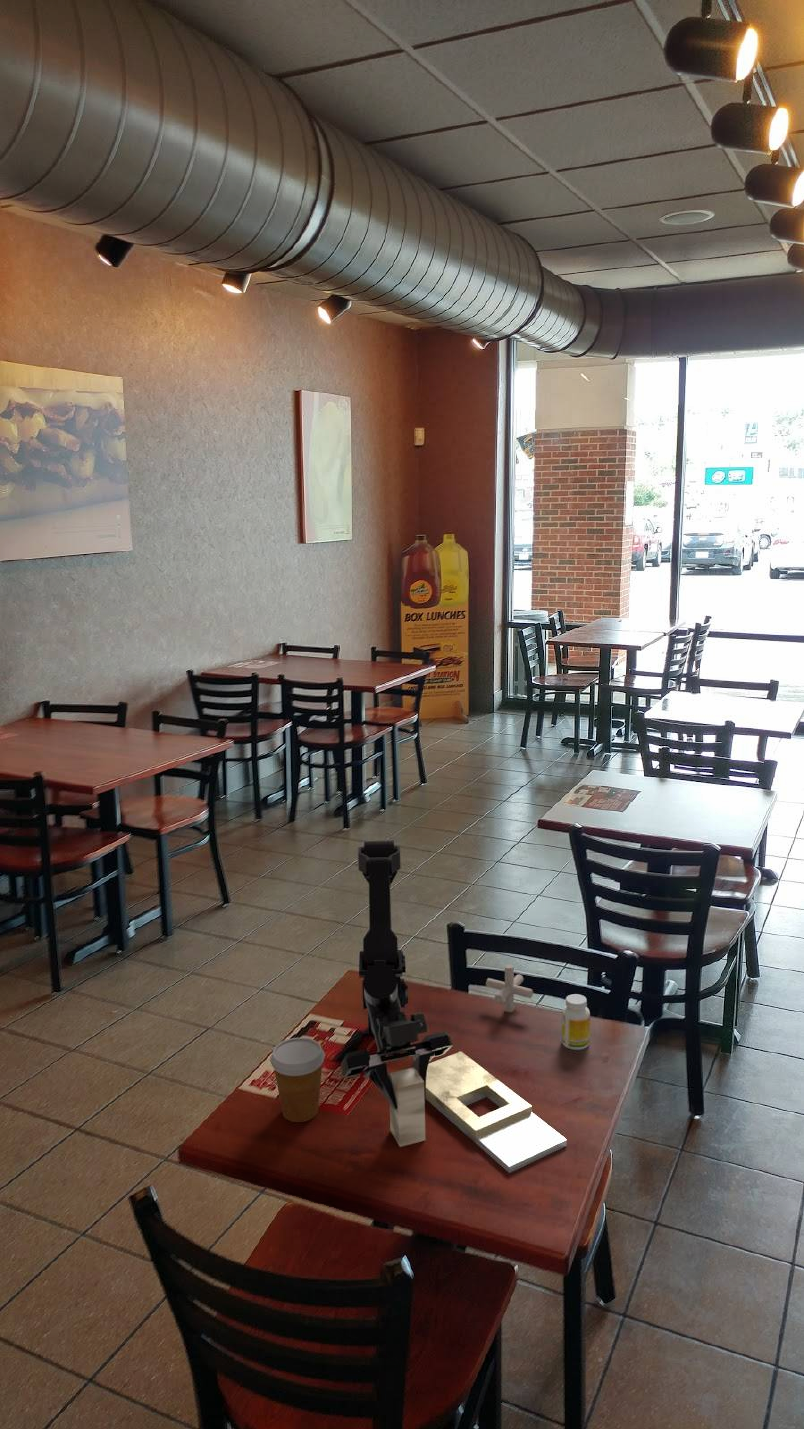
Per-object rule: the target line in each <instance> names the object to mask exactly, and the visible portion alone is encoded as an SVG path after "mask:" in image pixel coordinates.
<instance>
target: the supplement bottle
mask: <svg viewBox="0 0 804 1429" xmlns="http://www.w3.org/2000/svg"><path fill="white" fill-rule="evenodd" d="M587 1006H588V1001H587V998H586V996H584V995H582V994H578V993H574V994H569V995H567V996H566V997H565V1005H564V1006H563V1008H562V1011H561V1043H562V1045H563V1046H564V1047H565V1048H567V1049H570V1050H576V1051H581V1050H584V1049H586V1048H587V1047H588V1046H589V1044H590V1030H591V1029H590V1025H591V1024H590V1023H591V1012H590V1009H589V1008H588V1007H587Z"/></svg>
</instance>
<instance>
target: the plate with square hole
mask: <svg viewBox="0 0 804 1429" xmlns="http://www.w3.org/2000/svg"><path fill="white" fill-rule="evenodd" d="M485 1098H487V1099H489V1100H490V1101H491V1102H492V1103H494V1105H496V1106H498V1109H496V1110H493V1111H490V1112H487V1113H486V1114H483V1115H481V1116H478V1115H477V1114H475V1113H474V1112H473V1111H472V1110H471V1109H470V1108H468V1107H467V1106H469V1105H471V1104H473V1103H476V1102H479V1101H480V1100H483V1099H485ZM425 1101H427V1102H428V1103H430V1104H431V1105H432V1106H433V1107H435V1109H436V1110H437V1111H439V1112H440V1113H441V1114H442V1115H443V1116H444V1117H445V1118H447V1119H448V1120H449V1121H450V1122H451V1123H452V1124H454V1126H455V1127H457V1128H458V1130H460V1131H461V1132H462V1133H464V1135H465V1136H467V1137H468V1138H469V1139H470V1140H472V1142H474V1143H475V1144H476V1145H477V1146H478V1148H480V1149H481V1150H483V1151H484V1152H485V1153H486V1154H487V1155H488V1156H489V1157H490V1158H492V1159H493V1160H494V1161H495V1162H496V1163H497V1164H498V1165H500V1167H502V1168H503V1169H504V1170H505V1171H506V1172H507V1173H508V1174H511V1173H512V1172H513V1173H514V1172H515V1171H518V1170H519V1169H520V1168H521V1169H522V1168H523V1167H525V1166H527V1165H529V1164H531V1163H534V1162H536V1161H537V1160H540V1159H542V1158H545V1157H546V1156H548V1155H550V1154H552V1153H555V1152H556V1151H559V1150H561V1149H563V1148H565V1147H567V1142H568V1141H567V1140H568V1139H566V1138H565V1137H564V1136H563V1135H561V1134H560V1133H559V1132H558V1131H556V1130H555V1129H554V1128H553V1127H551V1126H550V1125H548V1124H547V1123H546V1122H545V1121H544V1120H542V1119H541V1118H540V1117H539V1116H537V1115H536V1114H535V1113H533V1110H532V1109H533V1107H532V1105H531V1104H530V1103H528V1102H527V1101H526V1100H524V1099H523V1098H522V1097H520V1096H519V1095H518V1094H517V1093H515V1092H514V1091H513V1090H512V1089H510V1088H509V1087H508V1086H506V1085H505V1084H504V1083H503V1082H501V1081H500V1080H499V1079H497V1078H496V1077H495V1076H493V1075H492V1074H491V1073H490V1072H488V1071H487V1070H486V1069H485V1068H483V1067H482V1066H481V1065H479V1064H478V1063H477V1062H475V1061H474V1060H473V1059H471V1058H470V1057H469V1056H468V1055H466V1054H465V1053H464V1052H463V1051H459V1052H456V1053H453V1054H451V1055H448V1056H445V1057H443V1058H440V1059H437V1060H435V1061H432V1062H429V1063H428V1068H427V1074H426V1096H425Z"/></svg>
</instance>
